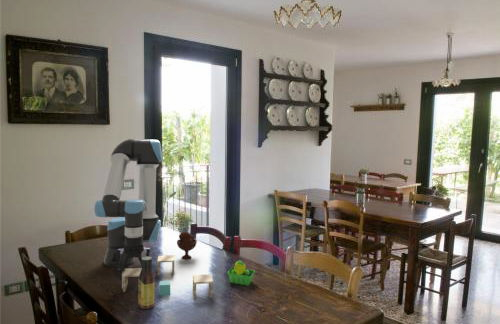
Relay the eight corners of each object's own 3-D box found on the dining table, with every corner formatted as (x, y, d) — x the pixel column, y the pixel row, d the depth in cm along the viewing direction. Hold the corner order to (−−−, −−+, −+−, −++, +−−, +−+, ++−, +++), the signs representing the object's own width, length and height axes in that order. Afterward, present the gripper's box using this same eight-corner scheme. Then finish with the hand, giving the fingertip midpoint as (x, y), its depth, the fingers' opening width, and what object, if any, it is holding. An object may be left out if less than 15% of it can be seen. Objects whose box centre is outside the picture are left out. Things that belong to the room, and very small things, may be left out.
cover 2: (157, 275, 183) (157, 261, 182) (158, 269, 191) (158, 255, 190) (174, 274, 185) (174, 260, 184) (174, 268, 192) (174, 255, 192)
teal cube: (159, 295, 161) (159, 285, 161) (159, 291, 166) (159, 281, 165) (170, 295, 162) (170, 284, 162) (170, 290, 166) (170, 280, 166)
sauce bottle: (140, 302, 154) (140, 254, 152) (155, 302, 154) (156, 254, 153) (136, 310, 147) (136, 260, 146) (153, 310, 148) (153, 260, 146)
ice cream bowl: (193, 262, 203) (193, 234, 201) (173, 260, 205) (173, 232, 204) (199, 255, 213) (200, 229, 212) (180, 254, 215) (181, 228, 214)
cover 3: (193, 298, 159) (193, 282, 158) (192, 290, 167) (192, 275, 166) (212, 297, 160) (213, 281, 160) (210, 289, 168) (211, 274, 168)
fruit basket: (255, 281, 180) (255, 257, 179) (248, 288, 171) (249, 263, 170) (232, 277, 183) (233, 254, 182) (225, 284, 175) (226, 260, 174)
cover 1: (122, 291, 162) (122, 275, 161) (125, 284, 169) (125, 268, 169) (142, 290, 163) (142, 274, 163) (143, 283, 171) (144, 267, 170)
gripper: (106, 238, 159) (107, 291, 161) (158, 237, 163) (157, 289, 165) (109, 234, 166) (110, 284, 168) (159, 232, 170) (158, 282, 172)
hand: (133, 286), depth 166 cm, fingers closed on cover 1, 8 cm apart
